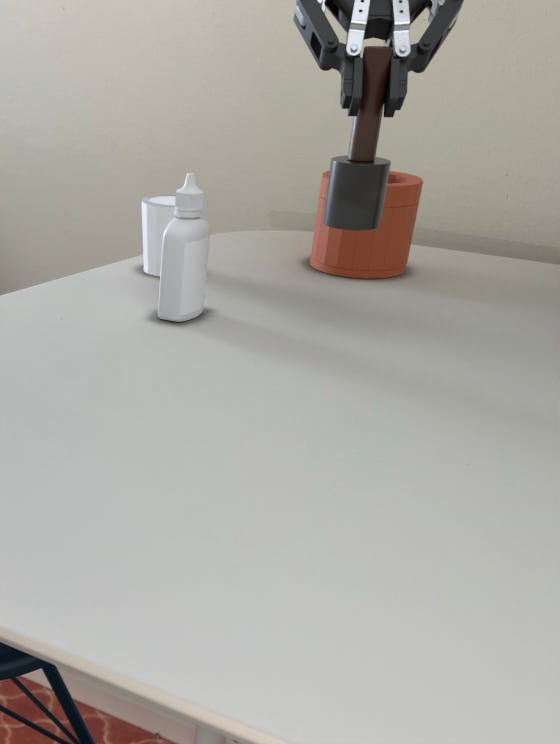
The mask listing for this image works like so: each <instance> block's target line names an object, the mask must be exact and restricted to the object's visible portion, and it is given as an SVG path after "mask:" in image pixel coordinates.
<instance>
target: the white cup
mask: <svg viewBox="0 0 560 744" xmlns="http://www.w3.org/2000/svg"><path fill="white" fill-rule="evenodd" d="M175 197H176V194H156V195H150V196H145V197H143V198H141V225H142V226H141V227H142V229H141V230H142V253H143V254H142V255H143V257H142V258H143V259H142V260H143V272H144V273H146V274H147V275H150V276H153V277H159V278H160V270H161V255H162V242H163V234H164V231H165V229H166V227H167V225H168V224H169V223H170V222H171V221H172V220H173V219H174V217H175V216H176V215H175V214H174V212H175ZM207 209H208V200H206V199H204V198H203V208H202V216H200V217H201V219H203V220H205V221H206V216H207Z"/></svg>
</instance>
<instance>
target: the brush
mask: <svg viewBox="0 0 560 744" xmlns="http://www.w3.org/2000/svg"><path fill="white" fill-rule="evenodd" d="M392 51H393V48H392V47H387V46H384V45H366V46H364V47H363V51H362V56H361V58H364V59H363V82H362V99H361V104H360V107H359V111H358V114H357V117H356V116H353V119H352V125H351V131H350V132H351V133H350V138H349V146H348V153H347V155H338V156H334V157H332V158H330V165H329V171H330V172H329V179H328V187H327V194H326V201H325V208H324V215H323V224H324V225H326V226H328V227H332V228H336V229H343V230H372V229H376V228H379V227H380V224H381V218H382V212H383V206H384V201H385V195H386V189H387V183H388V177H389V171H391V165H392V161H391V160H390V159H388V158H385V157H381V156H380V157H378V156H376V155H377V150H378V143H379V137H380V131H381V124H382V120H383V119H382V118H383V114H384V100H385V94H386V88H387V81H388V75H389V69H390V63H391V57H392Z"/></svg>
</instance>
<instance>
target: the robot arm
mask: <svg viewBox="0 0 560 744" xmlns="http://www.w3.org/2000/svg"><path fill="white" fill-rule="evenodd" d="M464 1H465V0H296V1H295V6H294V7H295V8H294V12H293V19H292V20H293V23H294V24H295V26H296V29H298V32H299V33H300V36H301V37H302V39H303V41H304V42H305V45H306V46H307V48H308V50H309V52H310V53H311V55H312V57H313V59H314V61H315V62H316V65H317V66H318V68H319V69H320V70H322V71H324V72H328V71H331V70H332V69H333V70H335V71H337V72H338V73H339V74H340V92H339V93H340V94H339V104H340V107H341V110H347V117H354V116H356V117H357V114H358V111H359V107H360V104H361V99H362V82H363V59H364V58H362V57H361V54H362V52H363V51H362V49H363V45H364V41H365V40H369V39H377V40H382V42H383V46H387V47H392V48H393V51H392V57H391V63H390V69H389V75H388V81H387V88H386V94H385V100H384V107H383V118H394V116H395V114H396V111H401V109H402V107H403V106H404V103H405V100H406V98H407V94H408V80H409V72H413V73H416V74H422V73H424V72H425V71H426V69H427V68H428V67H429V65H430V63H431V61H433V59H434V57H435V56H436V54H437V53H438V51H439V50H440V48H441V46H442V45H443V43H444V42H445V41H446V39H447V37H448V36H449V34H450V33H451V31H452V30H453V28H454V27H455V25H456V23H457V21H458V17H459V15H460V12H461V10H462V6H463V3H464ZM326 10H328V12H330V14H331V15H332V16H333V18H334V20H336V22H337V23H338V24H339V26H341V28H342V29H343V30H344V32H345V33H346V35H345V41H344V43H343V42H341V41H340V40H339V39H340V38H339V37H338V35H337V34H336V32H335V30H334V28H333V26H332V25H331V23H330V21H329V19H328V18H327V16H326ZM425 10H427V11H428V13H429V14H428V17H427V21H428V23H429V25H428V26H427V28H426V29H425V31H424V33H422V35H421V37H420V39H419V40H418V42H415V43H412V44H411V37H410V28H411V25H412V24H413V23H414V22H415V21H416V19H417V18H418V17H419V16H420V15H421V14H422V13H423V12H424V11H425Z"/></svg>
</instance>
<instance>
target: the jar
mask: <svg viewBox="0 0 560 744" xmlns="http://www.w3.org/2000/svg"><path fill="white" fill-rule="evenodd" d="M329 172H330V170H327V171H323V172H322V173H321V174H322V175H321V180H320V186H319V187H320V188H319V194H318V202H317V209H316V216H315V223H314V230H313V236H312V242H311V243H312V244H311V250H310V260H309V265H310V266H311V267H312V268H313V269H314V270H316V271H319V272H321V273H325V274H328V275H332V276H339V277H344V278H351V279H352V278H353V279H368V280H369V279H374V280H375V279H376V280H377V279H389V278H394V277H398V276H401V275H403V274H404V273H405V272H406V269H407V264H408V261H409V257H410V256H409V255H410V250H411V246H412V240H413V237H414V236H413V235H414V231H415V227H416V226H415V225H416V220H417V215H418V211H419V210H418V209H419V204H420V200H421V195H422V191H423V184H424V180H423V179H422V177H419V176H418V175H414V174H410V173H407V172H401V171H395V170H390V171H389V177H388V183H387V189H386V195H385V201H384V206H383V212H382V218H381V224H380V227H379V228H376V229H372V230H343V229H336V228H332V227H328V226H326V225H324V224H323V215H324V208H325V201H326V194H327V187H328V179H329Z"/></svg>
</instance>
